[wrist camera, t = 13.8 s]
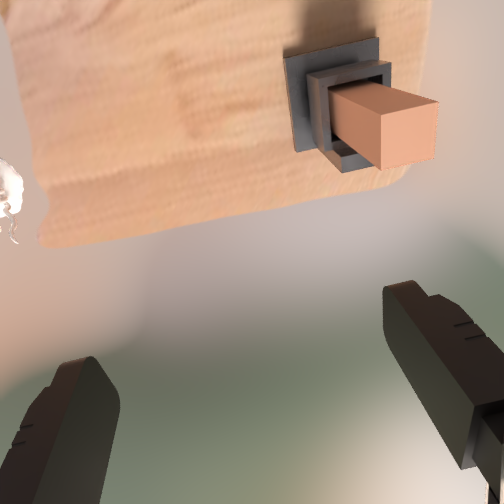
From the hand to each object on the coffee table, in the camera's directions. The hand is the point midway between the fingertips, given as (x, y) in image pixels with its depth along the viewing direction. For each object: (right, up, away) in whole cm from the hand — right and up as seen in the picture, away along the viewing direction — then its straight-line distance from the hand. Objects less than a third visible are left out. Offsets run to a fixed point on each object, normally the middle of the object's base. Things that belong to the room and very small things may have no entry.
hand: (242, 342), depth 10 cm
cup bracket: (+9, +20, +31) cm, 38 cm away
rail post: (+10, +18, +27) cm, 34 cm away
